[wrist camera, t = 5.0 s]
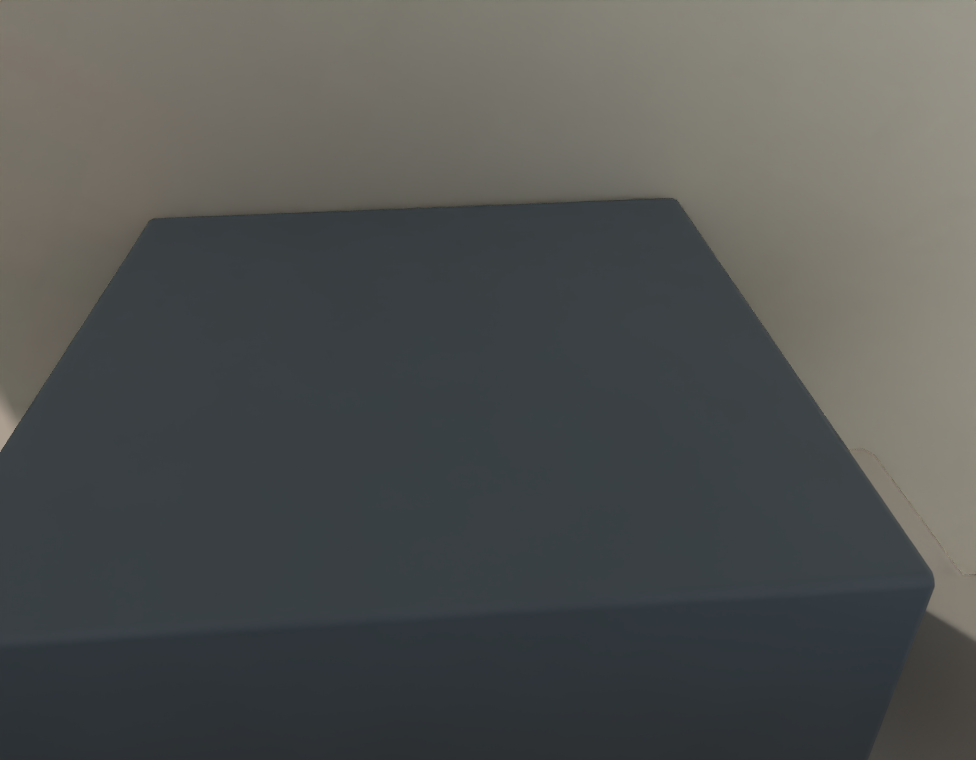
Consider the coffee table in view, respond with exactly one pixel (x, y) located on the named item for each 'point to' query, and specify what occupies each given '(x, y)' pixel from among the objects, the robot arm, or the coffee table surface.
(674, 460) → the block
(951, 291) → the coffee table surface
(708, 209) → the coffee table surface
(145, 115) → the coffee table surface
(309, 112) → the coffee table surface
